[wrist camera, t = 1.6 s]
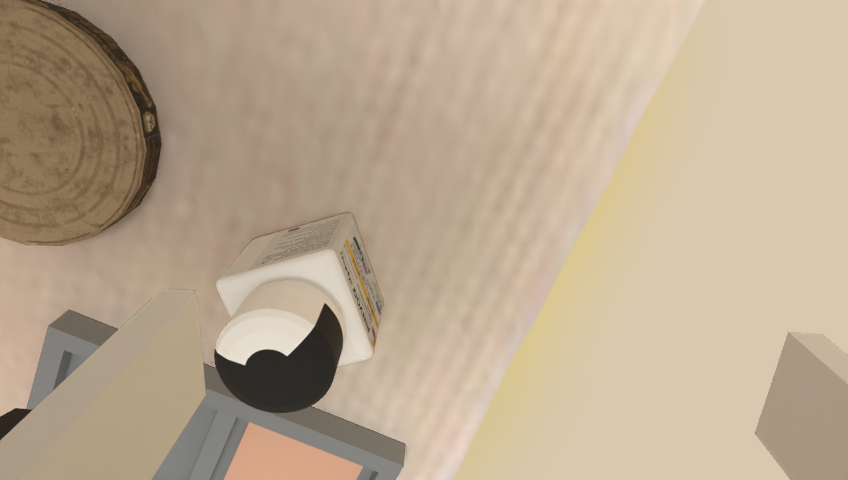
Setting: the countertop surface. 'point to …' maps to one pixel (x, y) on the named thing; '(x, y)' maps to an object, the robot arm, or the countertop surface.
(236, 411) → the two-bay tray
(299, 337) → the container
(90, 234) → the brown disc
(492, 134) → the countertop surface
